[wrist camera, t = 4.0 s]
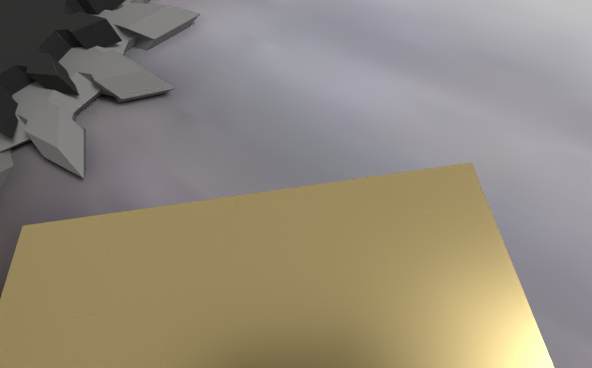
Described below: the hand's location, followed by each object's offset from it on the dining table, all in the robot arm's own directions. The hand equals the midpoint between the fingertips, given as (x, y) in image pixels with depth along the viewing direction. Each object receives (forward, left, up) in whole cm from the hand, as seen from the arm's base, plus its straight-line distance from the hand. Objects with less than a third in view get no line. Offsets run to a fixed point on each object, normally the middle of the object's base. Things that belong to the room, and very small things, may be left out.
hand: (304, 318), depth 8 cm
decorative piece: (+27, +14, -8) cm, 32 cm away
